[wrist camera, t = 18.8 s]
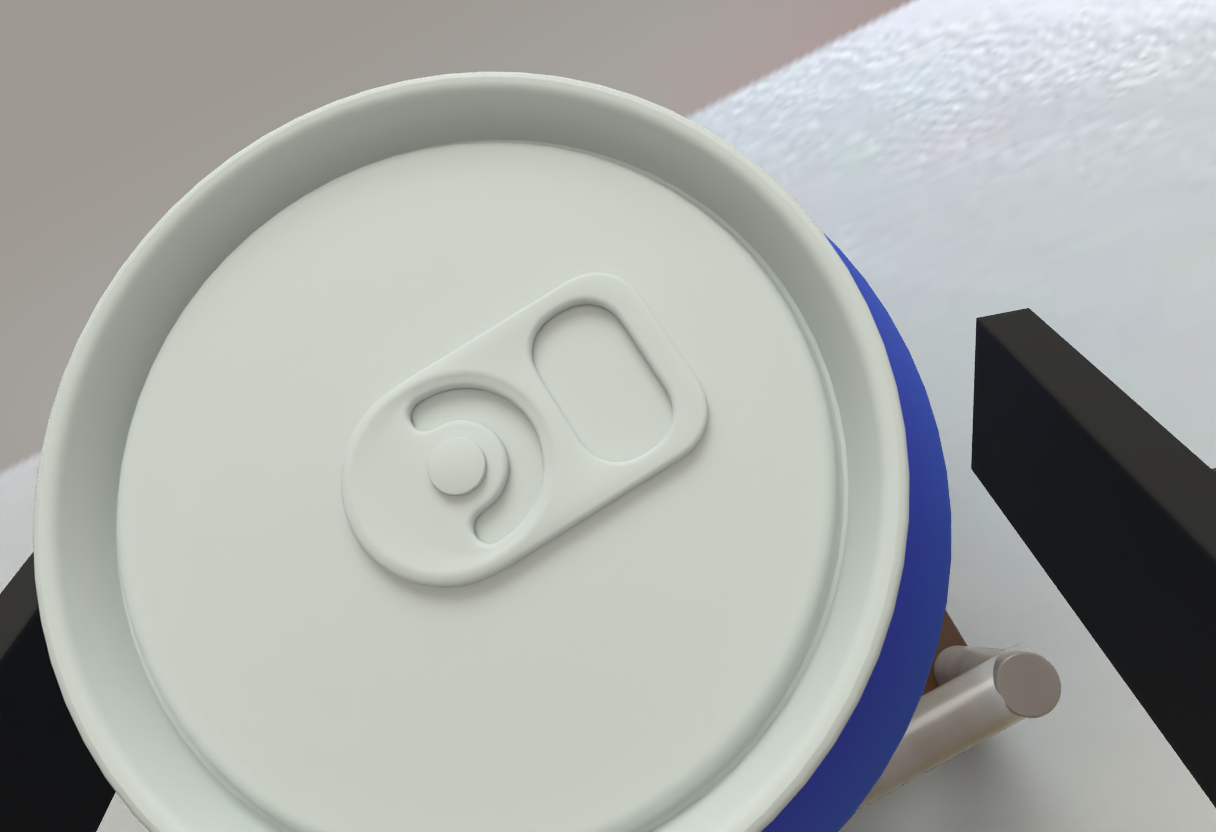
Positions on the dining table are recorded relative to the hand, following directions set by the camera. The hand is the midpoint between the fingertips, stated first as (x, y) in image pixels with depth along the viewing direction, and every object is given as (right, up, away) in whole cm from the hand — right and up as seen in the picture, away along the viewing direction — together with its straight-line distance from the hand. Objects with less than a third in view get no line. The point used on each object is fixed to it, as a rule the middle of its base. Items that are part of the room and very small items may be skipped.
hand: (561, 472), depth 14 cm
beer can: (+1, -3, +8) cm, 9 cm away
